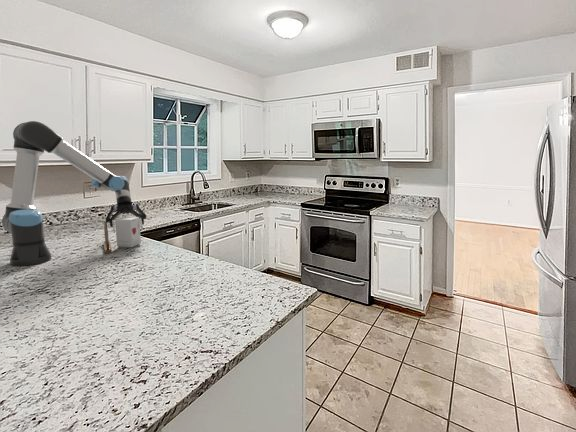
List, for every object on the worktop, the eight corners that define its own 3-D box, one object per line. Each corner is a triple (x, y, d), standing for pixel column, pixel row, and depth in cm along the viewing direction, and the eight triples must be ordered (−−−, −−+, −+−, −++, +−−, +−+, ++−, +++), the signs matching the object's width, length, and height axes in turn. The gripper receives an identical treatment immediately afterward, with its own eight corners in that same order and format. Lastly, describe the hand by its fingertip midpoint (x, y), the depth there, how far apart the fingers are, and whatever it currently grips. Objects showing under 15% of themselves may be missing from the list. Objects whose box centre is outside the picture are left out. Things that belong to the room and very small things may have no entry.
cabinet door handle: (105, 253, 169) (102, 224, 167) (103, 244, 188) (101, 218, 185) (111, 252, 170) (109, 224, 168) (109, 243, 189) (107, 217, 187)
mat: (119, 249, 178) (119, 247, 177) (118, 244, 186) (118, 243, 186) (140, 246, 183) (140, 245, 182) (138, 242, 191) (137, 241, 191)
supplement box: (132, 247, 178) (130, 219, 176) (116, 246, 179) (114, 219, 177) (141, 243, 187) (139, 216, 185) (126, 242, 188) (124, 216, 186)
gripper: (147, 202, 200) (152, 231, 190) (99, 205, 188) (102, 236, 177) (147, 194, 195) (153, 223, 184) (98, 196, 182) (101, 228, 172)
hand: (128, 230), depth 181 cm, fingers open, 13 cm apart
